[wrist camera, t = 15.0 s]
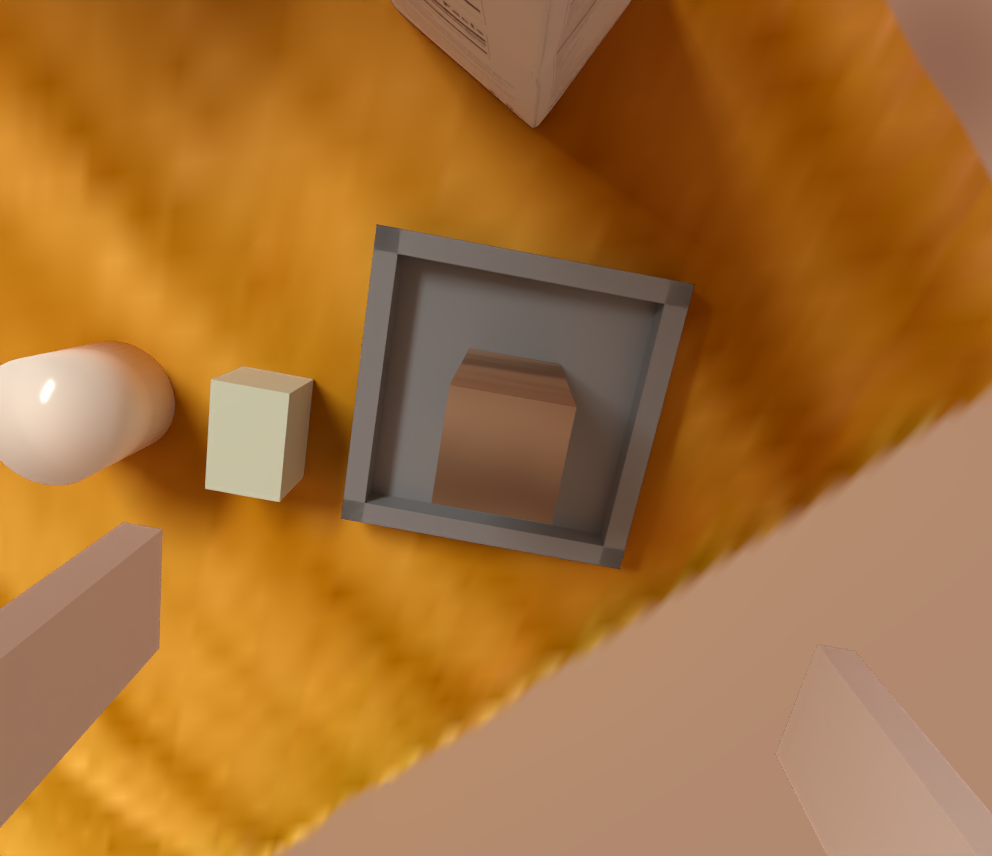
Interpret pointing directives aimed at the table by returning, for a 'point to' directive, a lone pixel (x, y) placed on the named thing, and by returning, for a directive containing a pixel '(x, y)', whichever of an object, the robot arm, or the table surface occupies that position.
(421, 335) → the tray
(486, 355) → the walnut block
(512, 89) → the supplement box
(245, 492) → the cream box
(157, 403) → the glossy white capsule
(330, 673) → the table surface
